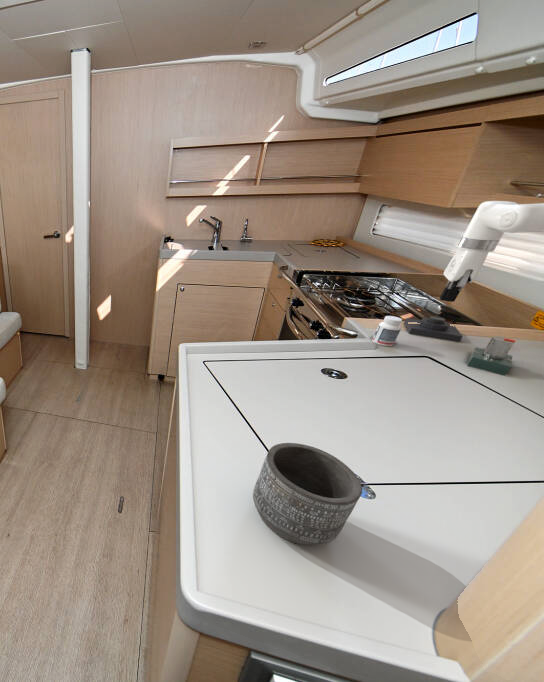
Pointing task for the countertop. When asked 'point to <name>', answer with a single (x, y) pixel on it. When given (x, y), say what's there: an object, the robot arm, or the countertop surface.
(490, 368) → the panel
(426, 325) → the housing
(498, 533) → the countertop surface
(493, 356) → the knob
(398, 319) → the pill bottle
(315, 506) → the planter
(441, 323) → the button
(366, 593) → the countertop surface
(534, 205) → the robot arm
